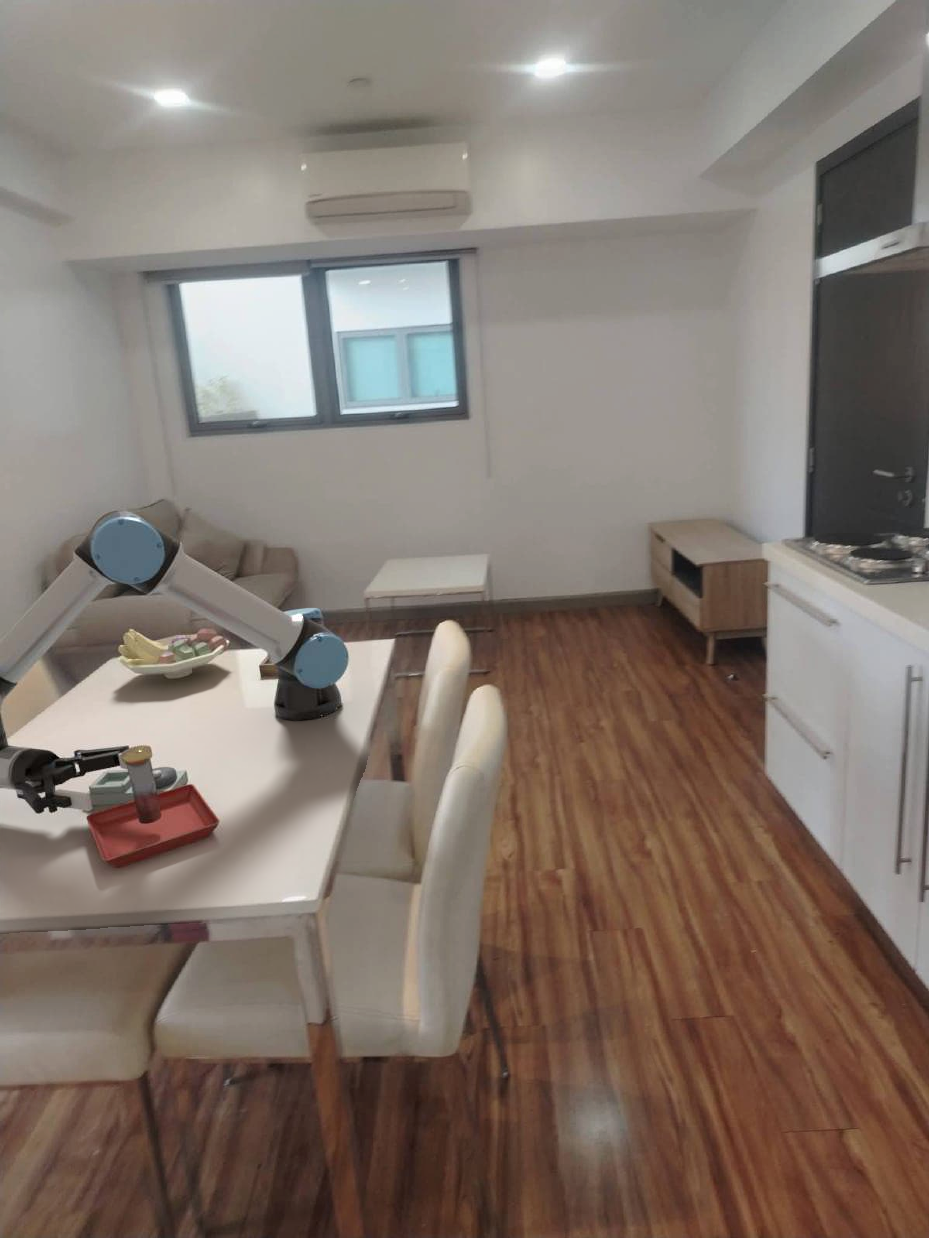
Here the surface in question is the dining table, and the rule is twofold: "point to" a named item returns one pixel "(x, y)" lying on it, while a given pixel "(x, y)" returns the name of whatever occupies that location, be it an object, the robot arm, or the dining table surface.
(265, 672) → the wooden tray
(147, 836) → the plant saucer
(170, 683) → the dining table surface
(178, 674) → the dish with food
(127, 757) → the pin
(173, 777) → the base
